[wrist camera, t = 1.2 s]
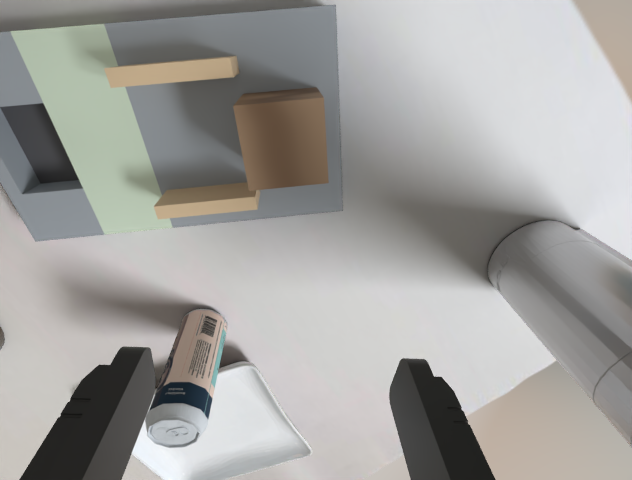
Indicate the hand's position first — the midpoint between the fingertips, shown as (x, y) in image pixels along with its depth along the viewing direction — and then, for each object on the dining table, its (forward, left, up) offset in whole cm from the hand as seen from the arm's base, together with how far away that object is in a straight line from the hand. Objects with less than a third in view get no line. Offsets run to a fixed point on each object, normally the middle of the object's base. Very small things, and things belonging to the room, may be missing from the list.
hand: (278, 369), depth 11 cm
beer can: (+10, +16, -20) cm, 28 cm away
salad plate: (+13, +33, -21) cm, 41 cm away
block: (-1, -4, -17) cm, 18 cm away
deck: (+8, -4, -20) cm, 22 cm away
